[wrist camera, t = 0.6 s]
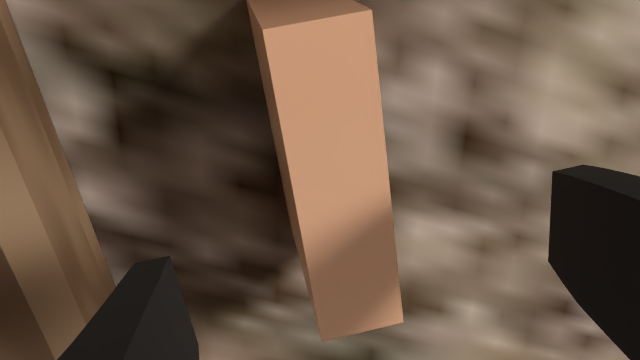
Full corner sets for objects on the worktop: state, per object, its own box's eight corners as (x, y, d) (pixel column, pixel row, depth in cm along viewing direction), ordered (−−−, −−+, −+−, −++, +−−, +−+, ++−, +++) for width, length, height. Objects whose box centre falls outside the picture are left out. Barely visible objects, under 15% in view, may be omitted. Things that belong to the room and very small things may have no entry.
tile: (350, 214, 20) (403, 322, 14) (291, 227, 19) (321, 341, 14) (318, -18, 16) (371, 9, 11) (244, -5, 16) (262, 29, 11)
